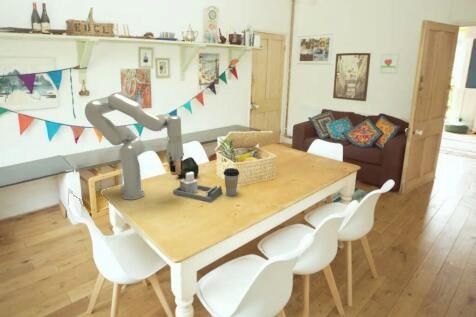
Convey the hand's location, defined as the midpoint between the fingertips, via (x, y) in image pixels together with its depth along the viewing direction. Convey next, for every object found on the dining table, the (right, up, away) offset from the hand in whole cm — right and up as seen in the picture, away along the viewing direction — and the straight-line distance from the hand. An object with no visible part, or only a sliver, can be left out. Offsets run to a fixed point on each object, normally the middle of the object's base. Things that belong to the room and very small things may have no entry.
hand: (176, 169), depth 180 cm
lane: (+10, -15, +12) cm, 22 cm away
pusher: (+19, -16, +9) cm, 27 cm away
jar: (0, -2, +1) cm, 2 cm away
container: (+5, -14, +15) cm, 21 cm away
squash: (+1, -7, +38) cm, 39 cm away
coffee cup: (+31, -15, +13) cm, 37 cm away
